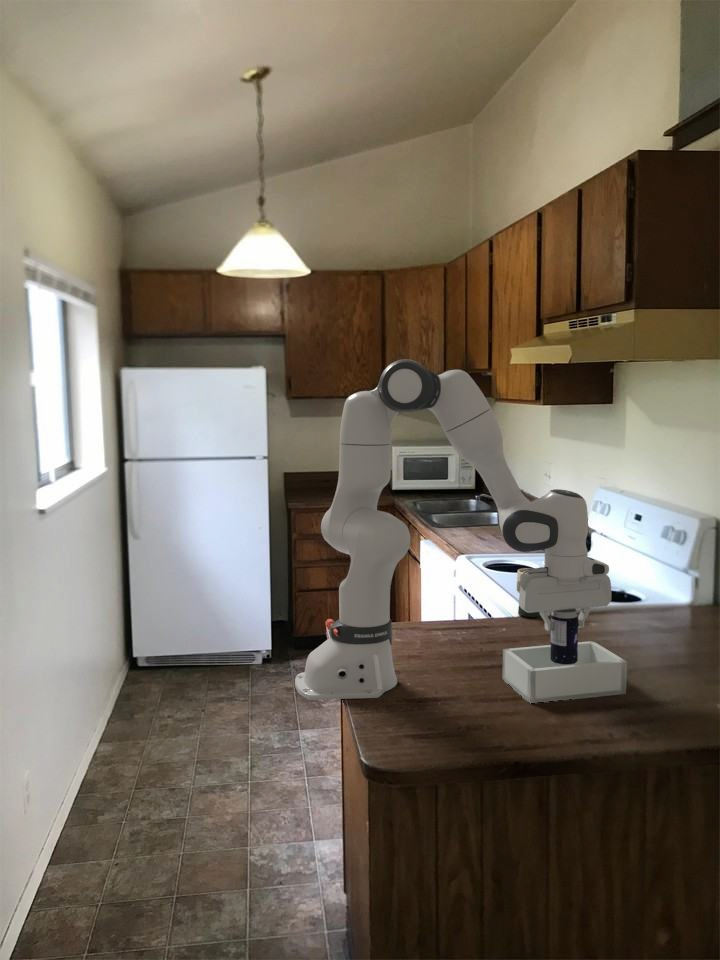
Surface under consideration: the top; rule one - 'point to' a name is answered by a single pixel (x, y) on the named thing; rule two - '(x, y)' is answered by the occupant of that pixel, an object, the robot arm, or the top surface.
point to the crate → (564, 673)
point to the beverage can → (564, 637)
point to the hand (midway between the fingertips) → (564, 628)
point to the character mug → (520, 611)
